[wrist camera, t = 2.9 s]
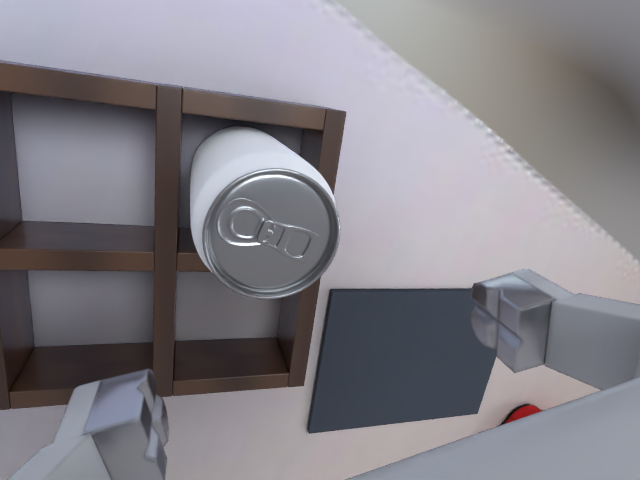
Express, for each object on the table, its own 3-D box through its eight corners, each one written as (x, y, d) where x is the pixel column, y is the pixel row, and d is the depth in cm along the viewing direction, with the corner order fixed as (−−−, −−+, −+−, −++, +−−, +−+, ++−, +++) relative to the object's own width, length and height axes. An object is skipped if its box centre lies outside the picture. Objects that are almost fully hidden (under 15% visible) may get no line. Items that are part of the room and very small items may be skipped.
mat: (307, 429, 37) (308, 433, 36) (330, 288, 32) (332, 291, 32) (474, 410, 43) (477, 413, 42) (514, 288, 38) (518, 290, 38)
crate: (15, 362, 27) (-15, 411, 23) (-21, 57, 21) (-69, 52, 17) (290, 349, 33) (304, 386, 29) (323, 106, 27) (346, 111, 23)
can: (212, 106, 25) (229, 127, 15) (304, 150, 28) (376, 195, 17) (175, 201, 27) (165, 284, 16) (265, 234, 29) (310, 324, 19)
